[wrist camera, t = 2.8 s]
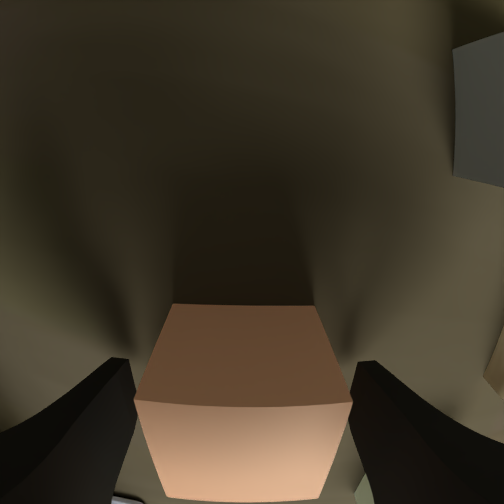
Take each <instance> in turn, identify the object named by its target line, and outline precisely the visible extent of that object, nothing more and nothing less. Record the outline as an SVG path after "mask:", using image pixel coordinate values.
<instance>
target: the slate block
mask: <svg viewBox="0 0 504 504" xmlns="http://www.w3.org/2000/svg"><path fill="white" fill-rule="evenodd" d="M452 52H453V63H454V79H455V152H454V168H453V176H456V177H461V178H465V179H470V180H474V181H478V182H483V183H487V184H491V185H495V186H499V187H503V188H504V32H502V33H499V34H495V35H492V36H489V37H486V38H483V39H480V40H477V41H474V42H472V43H469V44H466V45H463V46H460V47H458V48H455V49H452Z"/></svg>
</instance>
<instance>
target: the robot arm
mask: <svg viewBox="0 0 504 504" xmlns="http://www.w3.org/2000/svg"><path fill="white" fill-rule="evenodd" d="M135 394H136V388H135V384H134V380H133V376H132V372H131V367H130V363H129V359H123V358H114V357H111V358H110V359H108V360H107V361H106V362H104V363H103V364H102V365H101V366H100V367H98V368H97V369H96V370H95V371H93V372H92V373H91V374H90V375H89V376H87V377H86V378H85V379H84V380H82V381H81V382H80V383H79V384H77V385H76V386H75V387H74V388H72V389H71V390H70V391H69V392H67V393H66V394H65V395H63V396H62V397H60V398H59V399H58V400H56V401H55V402H54V403H52V404H51V405H49V406H48V407H47V408H45V409H44V410H42V411H41V412H39V413H37V414H36V415H34V416H33V417H31V418H29V419H27V420H25V421H24V422H22V423H20V424H18V425H16V426H14V427H12V428H10V429H8V430H5V431H3V432H1V433H0V504H143V503H142V502H139V501H135V500H130V499H125V498H120V497H116V496H113V492H114V488H115V485H116V481H117V478H118V476H119V473H120V470H121V467H122V464H123V461H124V458H125V455H126V453H127V450H128V447H129V444H130V441H131V438H132V436H133V433H134V429H135V425H136V420H137V416H138V413H137V410H136V406H135V403H134V397H135ZM350 395H351V398H352V400H353V404H352V407H351V410H350V413H349V417H348V421H349V425H350V430H351V433H352V436H353V439H354V442H355V445H356V448H357V451H358V453H359V456H360V459H361V462H362V464H363V467H364V470H365V473H366V476H367V478H368V481H369V484H370V488H371V491H372V495H373V500H374V504H504V444H503V443H500V442H497V441H495V440H493V439H490V438H488V437H486V436H483V435H481V434H479V433H477V432H475V431H473V430H471V429H469V428H467V427H465V426H463V425H462V424H460V423H458V422H456V421H454V420H453V419H451V418H450V417H448V416H446V415H445V414H443V413H442V412H441V411H439V410H438V409H436V408H435V407H433V406H432V405H430V404H429V403H428V402H426V401H425V400H424V399H422V398H421V397H420V396H418V395H417V394H416V393H415V392H413V391H412V390H411V389H410V388H408V387H407V386H406V385H405V384H404V383H402V382H401V381H400V380H399V379H397V378H396V377H395V376H394V375H393V374H391V373H390V372H389V371H388V370H387V369H385V368H384V367H383V366H382V365H381V364H379V363H378V362H377V361H375V360H373V361H362V362H358V363H357V367H356V371H355V375H354V379H353V382H352V386H351V390H350Z"/></svg>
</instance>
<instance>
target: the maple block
mask: <svg viewBox="0 0 504 504" xmlns="http://www.w3.org/2000/svg"><path fill="white" fill-rule="evenodd" d="M483 377H484V378H485V379H486V381H487V382H488V383H489V384H490V385H491V387H492V388H493V389H494V390H495V391H496V393H497V394H498V395H499V396H500V397H501V399H502V400H503V401H504V326H503V329H502V332H501V334H500V337H499V340H498V342H497V345H496V347H495V350H494V352H493V355H492V357H491V359H490V362H489V364H488V366H487V368H486V371H485V373H484V375H483Z"/></svg>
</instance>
